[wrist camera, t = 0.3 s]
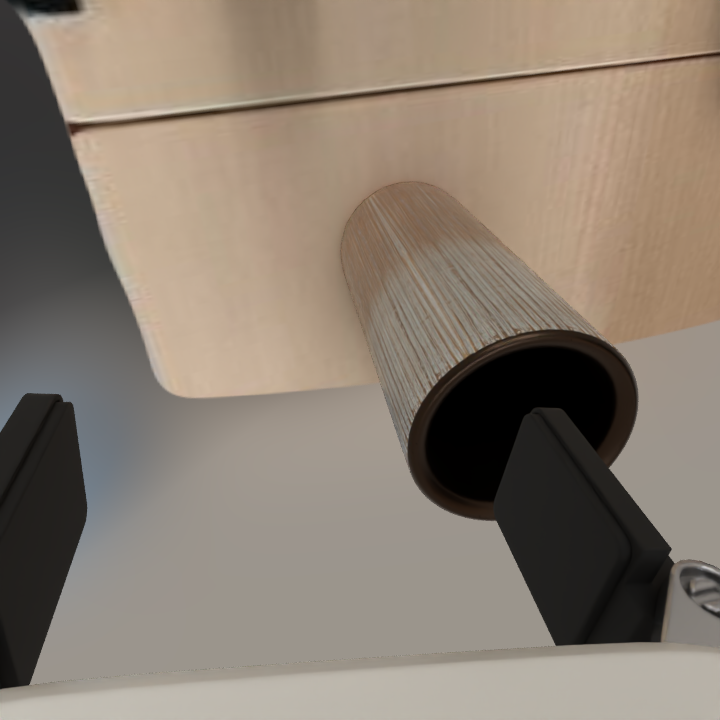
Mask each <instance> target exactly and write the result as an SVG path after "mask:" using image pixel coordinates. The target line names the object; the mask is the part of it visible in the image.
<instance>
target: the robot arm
mask: <svg viewBox="0 0 720 720" xmlns="http://www.w3.org/2000/svg"><path fill="white" fill-rule="evenodd" d="M493 510H494V516H495V518H496V521H497V523H498V525H499V527H500V529H501V531H502V533H503V535H504V537H505V540H506V542H507V544H508V546H509V548H510V550H511V552H512V554H513V556H514V559H515V561H516V563H517V565H518V567H519V569H520V571H521V573H522V575H523V577H524V580H525V581H526V584H527V586H528V588H529V590H530V592H531V594H532V596H533V599H534V601H535V603H536V604H537V607H538V609H539V611H540V613H541V615H542V617H543V620H544V621H545V623H546V625H547V628H548V630H549V632H550V634H551V636H552V638H553V640H554V643H555V645H556V646H548V647H533V648H532V647H531V648H515V649H498V650H482V651H465V652H450V653H434V654H419V655H404V656H390V657H389V656H388V657H373V658H359V659H344V660H330V661H314V662H299V663H285V664H272V665H257V666H243V667H231V668H230V667H229V668H216V669H202V670H188V671H174V672H161V673H149V674H137V675H126V676H115V677H103V678H91V679H80V680H69V681H58V682H50V683H43V684H35V685H29V684H30V681H31V679H32V676H33V673H34V669H35V667H36V664H37V661H38V658H39V655H40V653H41V650H42V647H43V644H44V641H45V638H46V635H47V632H48V629H49V626H50V624H51V620H52V618H53V615H54V612H55V609H56V606H57V603H58V600H59V598H60V595H61V592H62V589H63V586H64V583H65V580H66V577H67V574H68V571H69V568H70V565H71V563H72V560H73V557H74V554H75V551H76V548H77V545H78V543H79V540H80V537H81V534H82V531H83V528H84V525H85V522H86V516H87V501H86V494H85V486H84V479H83V472H82V465H81V458H80V450H79V444H78V436H77V429H76V421H75V414H74V408H73V404H72V403H71V402H63V399H62V397H61V395H59V394H33V393H27V394H25V395H24V396H23V397H22V399H21V400H20V402H19V404H18V405H17V407H16V408H15V410H14V412H13V413H12V415H11V416H10V418H9V420H8V421H7V423H6V425H5V426H4V428H3V429H2V431H1V432H0V720H720V569H719V568H717V567H715V566H713V565H710V564H707V563H704V562H702V561H696V560H681V561H679V562H677V563H674V562H673V561H672V559H671V558H670V557H669V556H668V555H669V553H670V551H671V547H670V546H669V545H668V544H667V542H666V541H665V540H664V539H663V537H662V536H661V535H660V533H659V532H658V531H657V530H656V528H655V527H654V526H653V524H652V523H651V522H650V521H649V520H648V518H647V517H646V515H645V514H644V513H643V512H642V510H641V509H640V508H639V506H638V505H637V504H636V503H635V501H634V500H633V499H632V498H631V496H630V495H629V494H628V492H627V491H626V490H625V489H624V487H623V486H622V485H621V484H620V482H619V481H618V480H617V478H616V477H615V476H614V474H613V473H612V472H611V471H610V469H609V468H608V467H607V465H606V464H605V463H604V462H603V460H602V459H601V458H600V457H599V455H598V454H597V453H596V451H595V450H594V449H593V448H592V446H591V445H590V444H589V442H588V441H587V440H586V439H585V437H584V436H583V435H582V433H581V432H580V431H579V430H578V428H577V427H576V426H575V425H574V423H573V422H572V421H571V419H570V418H569V417H568V416H567V414H566V413H565V412H564V411H563V410H562V409H560V408H534V409H533V410H532V411H531V413H530V414H526V415H525V416H524V418H523V420H522V423H521V426H520V429H519V431H518V434H517V437H516V440H515V443H514V446H513V449H512V451H511V454H510V457H509V460H508V463H507V466H506V468H505V471H504V474H503V477H502V480H501V483H500V486H499V488H498V491H497V494H496V497H495V500H494V505H493Z"/></svg>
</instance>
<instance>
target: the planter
mask: <svg viewBox="0 0 720 720" xmlns="http://www.w3.org/2000/svg"><path fill="white" fill-rule="evenodd" d="M341 260H342V266H343V271H344V275H345V278H346V281H347V284H348V287H349V290H350V293H351V296H352V299H353V302H354V305H355V308H356V311H357V314H358V317H359V320H360V323H361V326H362V329H363V332H364V335H365V338H366V341H367V344H368V347H369V350H370V353H371V356H372V359H373V362H374V365H375V368H376V372H377V375H378V378H379V381H380V384H381V387H382V390H383V393H384V396H385V399H386V402H387V405H388V407H389V410H390V414H391V417H392V420H393V423H394V426H395V429H396V432H397V435H398V438H399V441H400V444H401V447H402V450H403V453H404V456H405V459H406V462H407V465H408V467H409V470H410V473H411V475H412V477H413V479H414V482H415V483H416V485H417V486H418V488H419V489H420V490H421V492H422V493H423V494H424V495H425V496H426V497H427V498H428V499H429V500H431V501H432V502H433V503H434V504H436V505H437V506H439V507H440V508H442V509H444V510H446V511H448V512H450V513H453V514H455V515H458V516H462V517H465V518H470V519H476V520H486V521H496V518H495V516H494V510H493V505H494V500H495V497H496V494H497V491H498V488H499V486H500V483H501V480H502V477H503V474H504V471H505V468H506V466H507V463H508V460H509V457H510V454H511V451H512V449H513V446H514V443H515V440H516V437H517V434H518V431H519V429H520V426H521V423H522V420H523V418H524V416H525V415H526V414H530V413H531V411H532V410H533V409H534V408H560V409H562V410H563V411H564V412H565V413H566V414H567V416H568V417H569V418H570V419H571V421H572V422H573V423H574V425H575V426H576V427H577V428H578V430H579V431H580V432H581V433H582V435H583V436H584V437H585V439H586V440H587V441H588V442H589V444H590V445H591V446H592V448H593V449H594V450H595V451H596V453H597V454H598V455H599V457H600V458H601V459H602V460H603V462H604V463H605V464H606V465H607V467H608V468H609V467H610V466H611V465H612V464H613V462H614V461H615V460H616V459H617V457H618V456H619V454H620V453H621V452H622V450H623V448H624V447H625V445H626V443H627V441H628V439H629V437H630V435H631V432H632V430H633V427H634V424H635V421H636V416H637V411H638V388H637V383H636V379H635V376H634V373H633V371H632V369H631V367H630V365H629V363H628V362H627V360H626V359H625V358H624V356H623V355H622V354H621V353H620V352H619V351H618V350H617V349H616V348H615V347H614V346H613V345H612V344H611V343H610V342H609V341H608V340H607V339H606V338H605V337H603V336H602V335H601V334H600V333H599V332H598V331H597V330H596V329H595V328H594V327H593V326H592V325H591V324H590V323H588V322H587V321H586V320H585V319H584V318H583V317H582V316H581V315H580V314H579V313H578V312H577V311H575V310H574V309H573V308H572V307H571V306H570V305H569V304H568V303H567V302H566V301H565V300H564V299H563V298H561V297H560V296H559V295H558V294H557V293H556V292H555V291H554V290H553V289H552V288H551V287H550V286H549V285H547V284H546V283H545V282H544V281H543V280H542V279H541V278H540V277H539V276H538V275H537V274H536V273H534V272H533V271H532V270H531V269H530V268H529V267H528V266H527V265H526V264H525V263H524V262H523V261H522V260H520V259H519V258H518V257H517V256H516V255H515V254H514V253H513V252H512V251H511V250H510V249H509V248H508V247H506V246H505V245H504V244H503V243H502V242H501V241H500V240H499V239H498V238H497V237H496V236H495V235H493V234H492V233H491V232H490V231H489V230H488V229H487V228H486V227H485V226H484V225H483V224H482V223H481V222H479V221H478V220H477V219H476V218H475V217H474V216H473V215H472V214H471V213H470V212H469V211H468V210H467V209H465V208H464V207H463V206H462V205H461V204H460V203H459V202H458V201H457V200H456V199H454V198H453V197H452V196H450V195H449V194H447V193H446V192H444V191H443V190H441V189H439V188H437V187H435V186H432V185H429V184H425V183H420V182H404V183H397V184H393V185H390V186H387V187H385V188H383V189H380V190H379V191H377V192H375V193H374V194H372V195H371V196H369V197H368V198H367V199H366V200H364V201H363V202H362V203H361V204H360V205H359V206H358V208H357V209H356V210H355V211H354V213H353V214H352V216H351V217H350V219H349V221H348V223H347V225H346V227H345V230H344V233H343V237H342V242H341Z"/></svg>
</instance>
